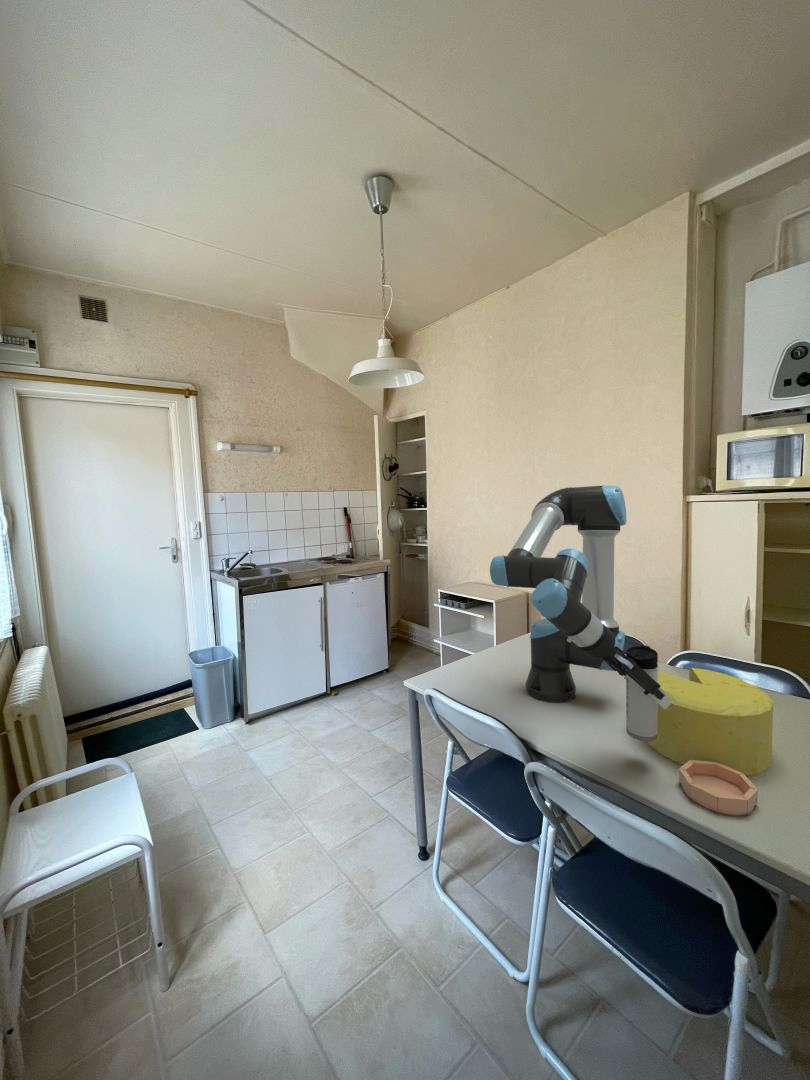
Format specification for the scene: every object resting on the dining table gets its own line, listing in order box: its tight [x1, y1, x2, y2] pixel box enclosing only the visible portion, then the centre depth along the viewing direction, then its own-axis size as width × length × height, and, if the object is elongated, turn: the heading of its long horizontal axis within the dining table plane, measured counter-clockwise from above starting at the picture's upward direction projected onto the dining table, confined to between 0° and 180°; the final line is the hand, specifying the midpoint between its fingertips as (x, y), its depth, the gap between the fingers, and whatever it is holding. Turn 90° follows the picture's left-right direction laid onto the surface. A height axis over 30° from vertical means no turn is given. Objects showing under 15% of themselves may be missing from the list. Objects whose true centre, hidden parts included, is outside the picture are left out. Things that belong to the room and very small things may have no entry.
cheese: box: [645, 667, 774, 777], centre depth 105 cm, size 26×26×15 cm
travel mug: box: [625, 644, 659, 742], centre depth 97 cm, size 6×7×20 cm
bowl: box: [678, 760, 759, 817], centre depth 87 cm, size 12×12×3 cm
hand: (656, 696), depth 98 cm, fingers closed on travel mug, 6 cm apart
